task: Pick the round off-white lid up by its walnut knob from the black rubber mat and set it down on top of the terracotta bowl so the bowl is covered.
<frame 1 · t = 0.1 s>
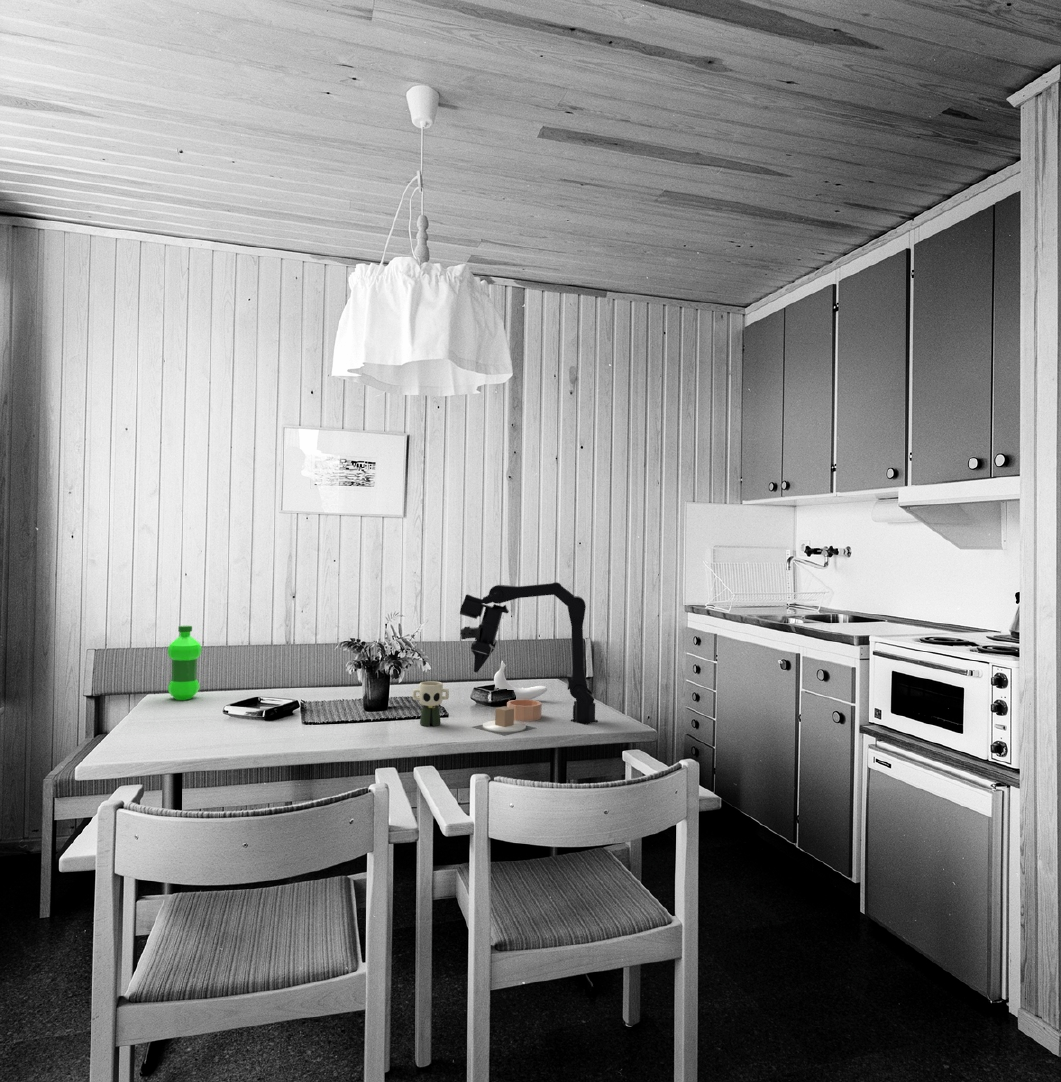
hand: (477, 669, 248), 15 cm above the table, tool pointing down, fingers open, 9 cm apart
plastic bottle: (183, 699, 268), on the table
mat: (504, 729, 235), on the table
character mug: (430, 726, 237), on the table
bowl: (524, 718, 250), on the table
banana: (520, 701, 277), on the table
lid: (504, 727, 235), resting on mat
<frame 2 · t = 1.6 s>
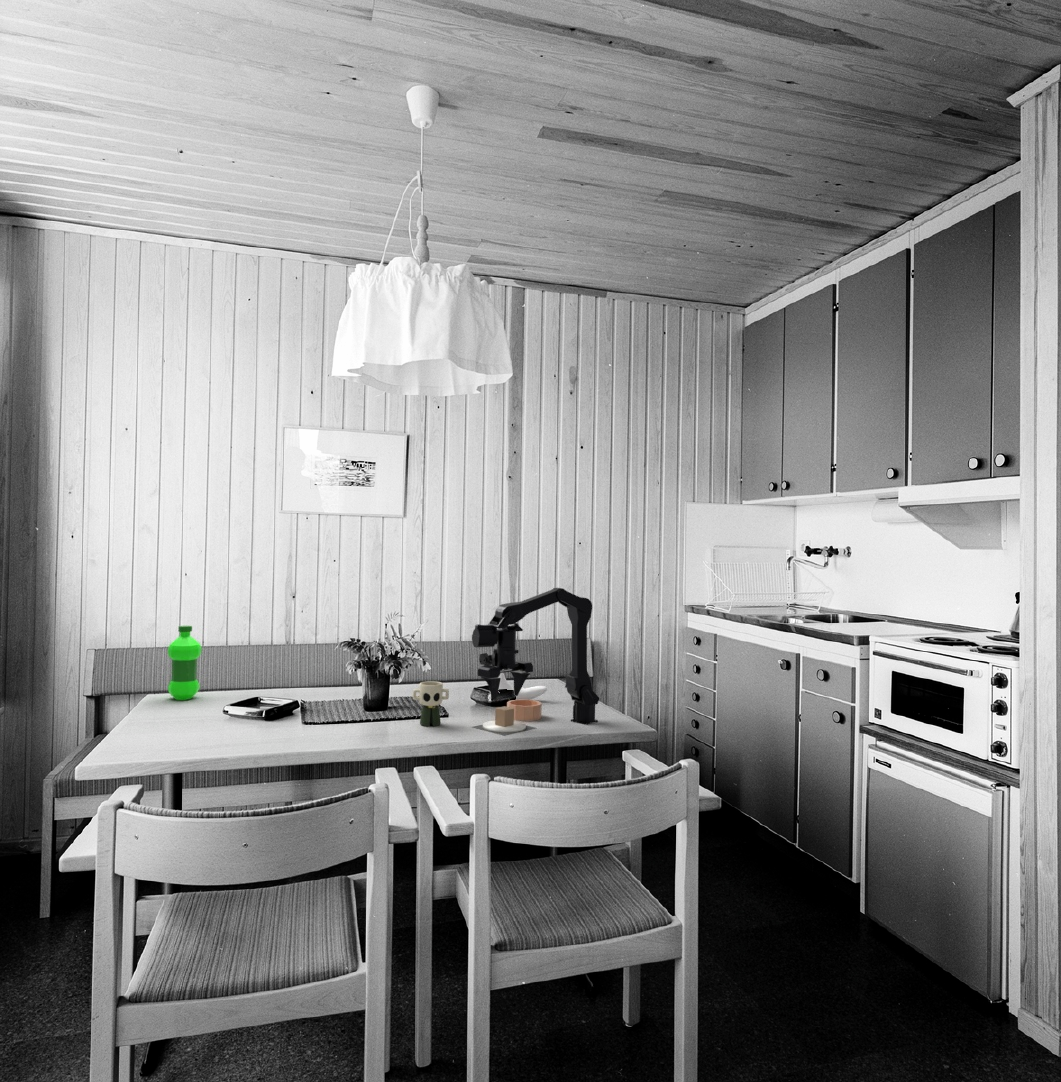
hand: (505, 697, 235), 9 cm above the table, tool pointing down, fingers open, 9 cm apart
nothing on the table moved.
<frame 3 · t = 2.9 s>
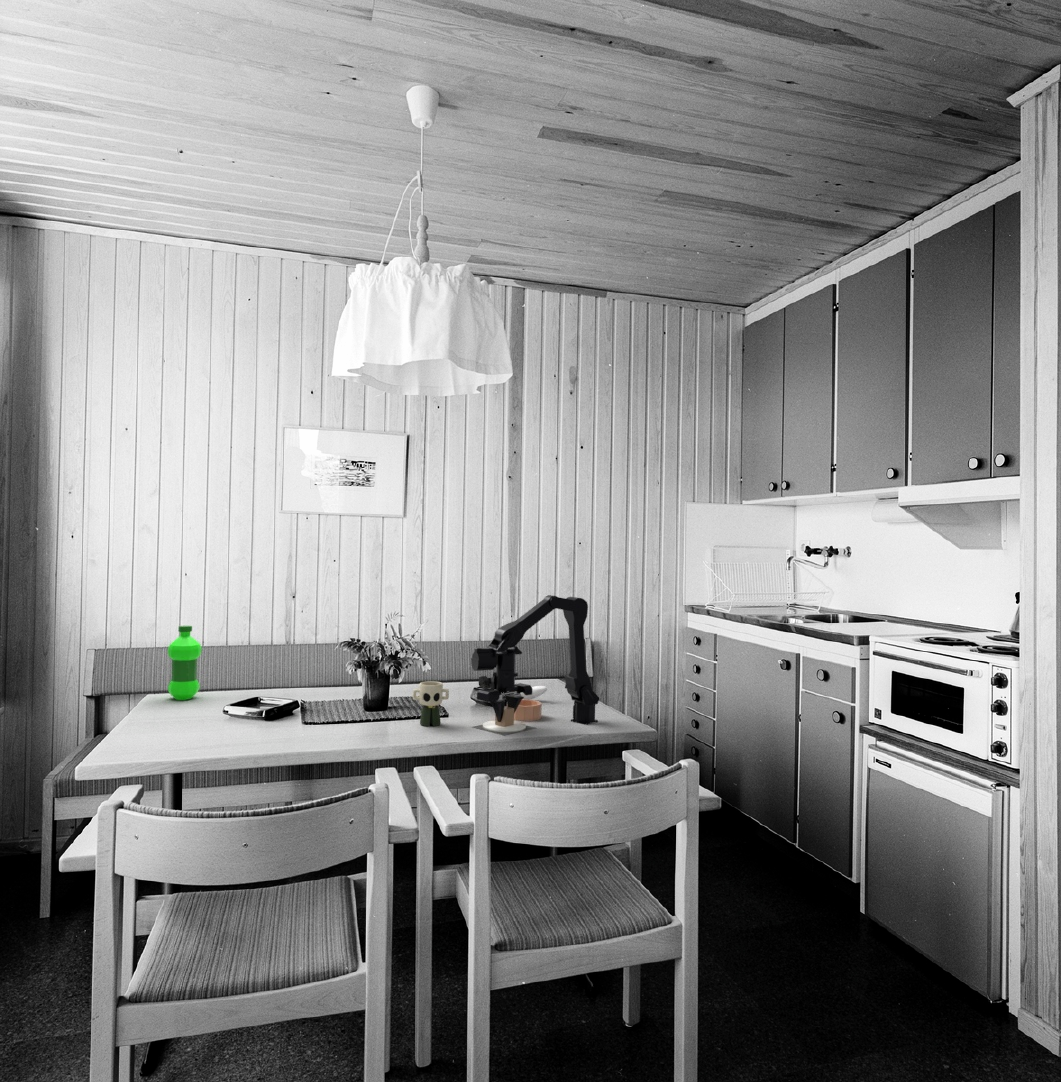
hand: (504, 720, 235), 3 cm above the table, tool pointing down, fingers closed on lid, 4 cm apart
lid: (504, 727, 235), point 1 cm above the table, touching gripper, mat
everything else where it was.
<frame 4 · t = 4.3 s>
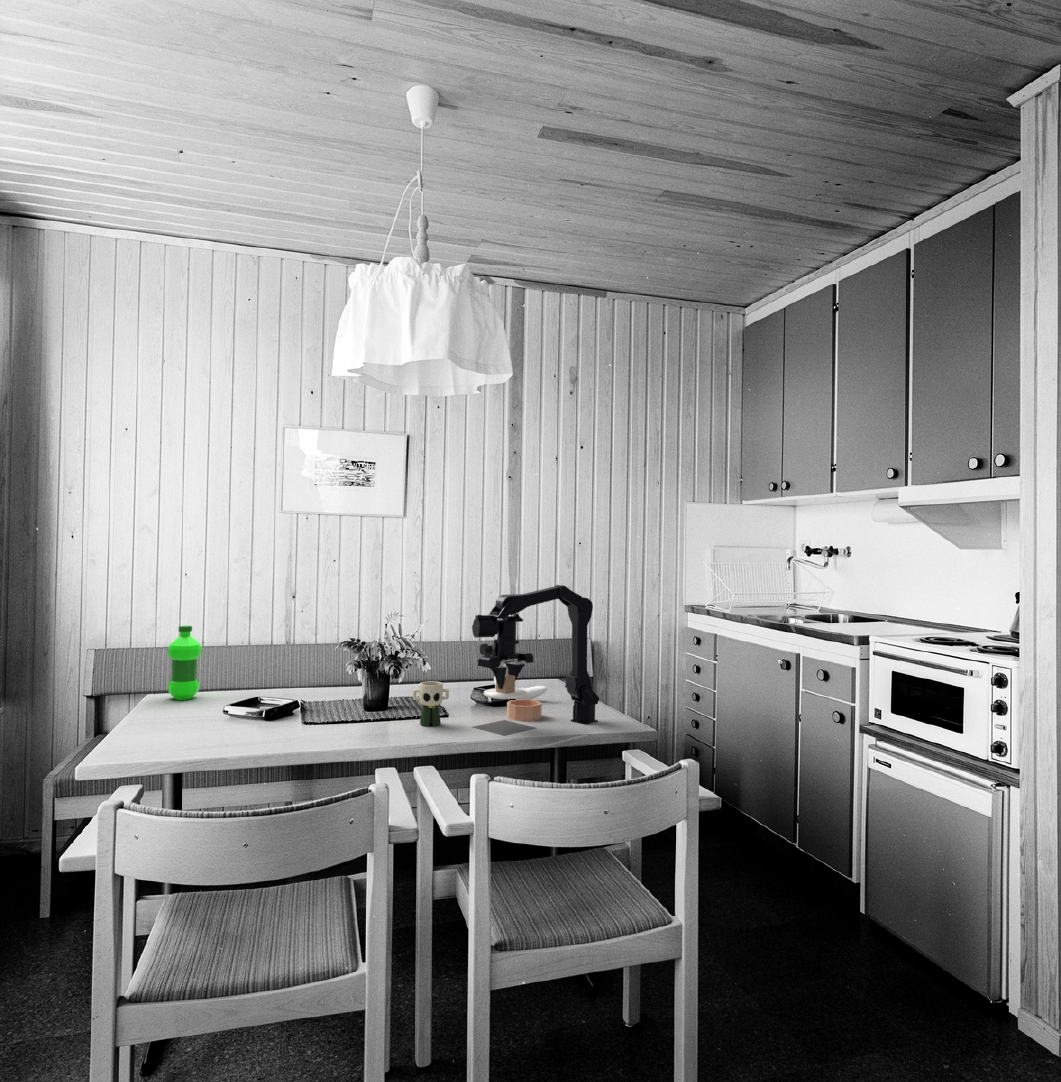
hand: (505, 688, 235), 12 cm above the table, tool pointing down, fingers closed on lid, 4 cm apart
lid: (505, 694, 235), point 10 cm above the table, touching gripper
everything else where it was.
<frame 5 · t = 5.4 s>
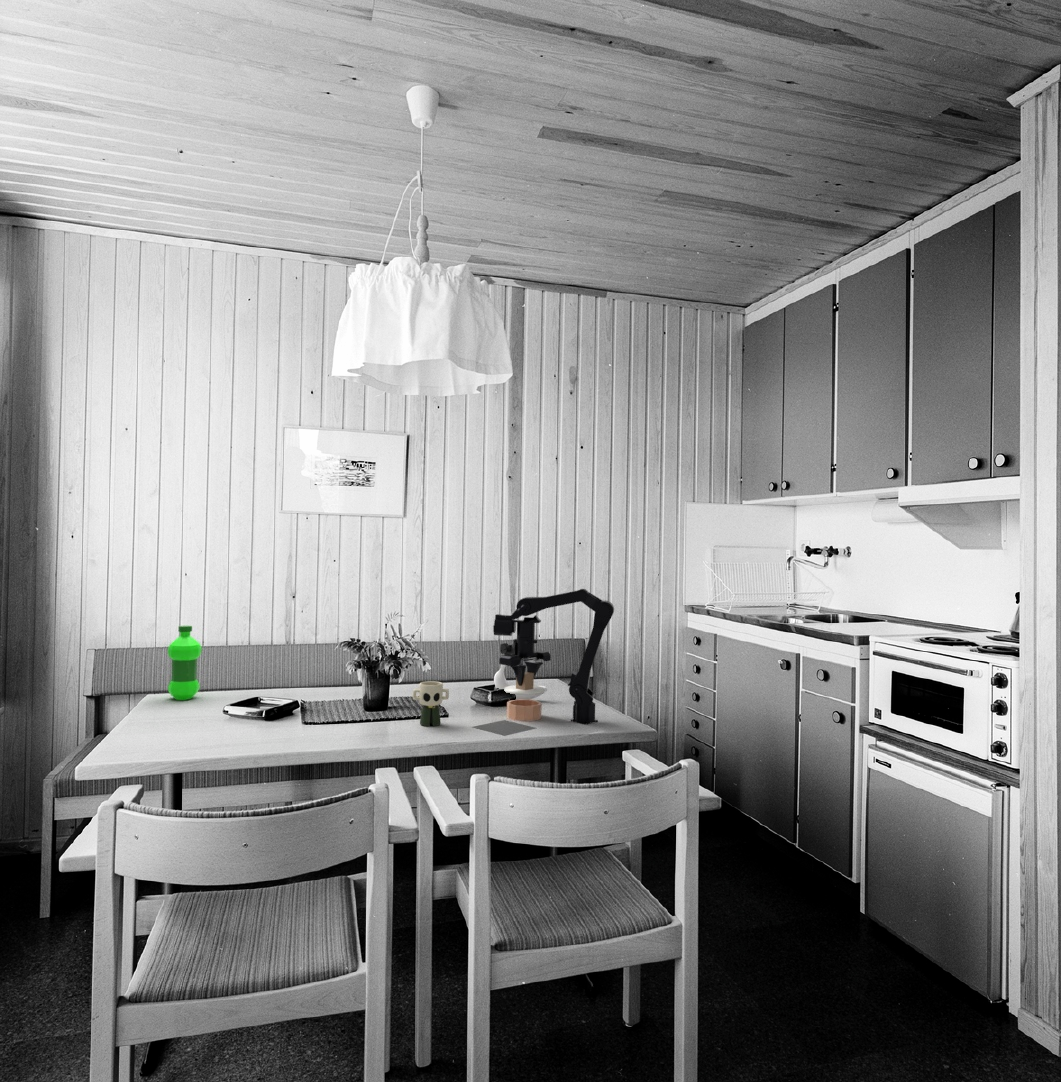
hand: (524, 684, 250), 11 cm above the table, tool pointing down, fingers closed on lid, 4 cm apart
lid: (524, 691, 250), point 9 cm above the table, touching gripper
everything else where it was.
when the fingers open (8 cm above the table, at t = 6.1 s): lid drops 1 cm, resting on bowl.
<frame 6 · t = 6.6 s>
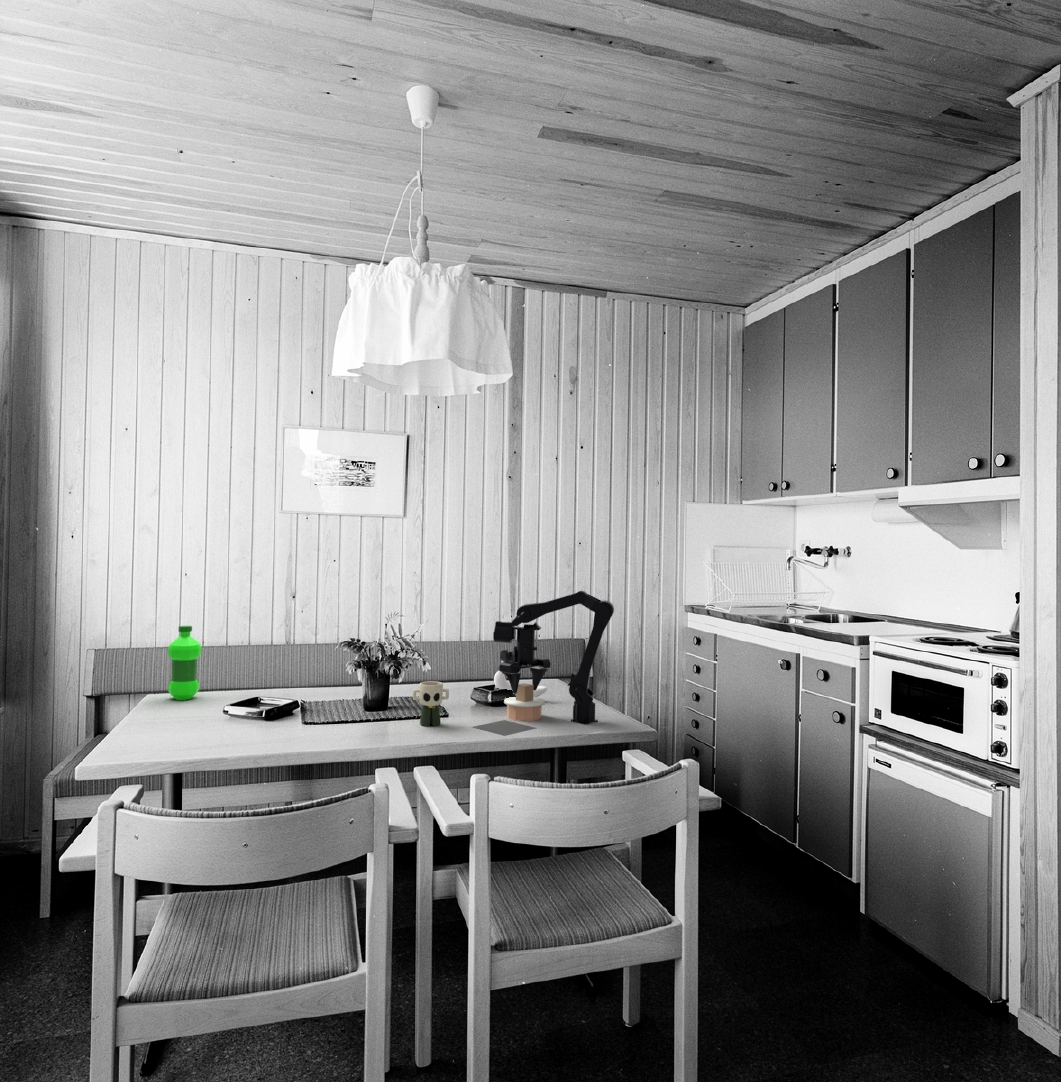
hand: (524, 692, 250), 8 cm above the table, tool pointing down, fingers open, 9 cm apart
lid: (524, 702, 250), point 5 cm above the table, touching bowl
everything else where it was.
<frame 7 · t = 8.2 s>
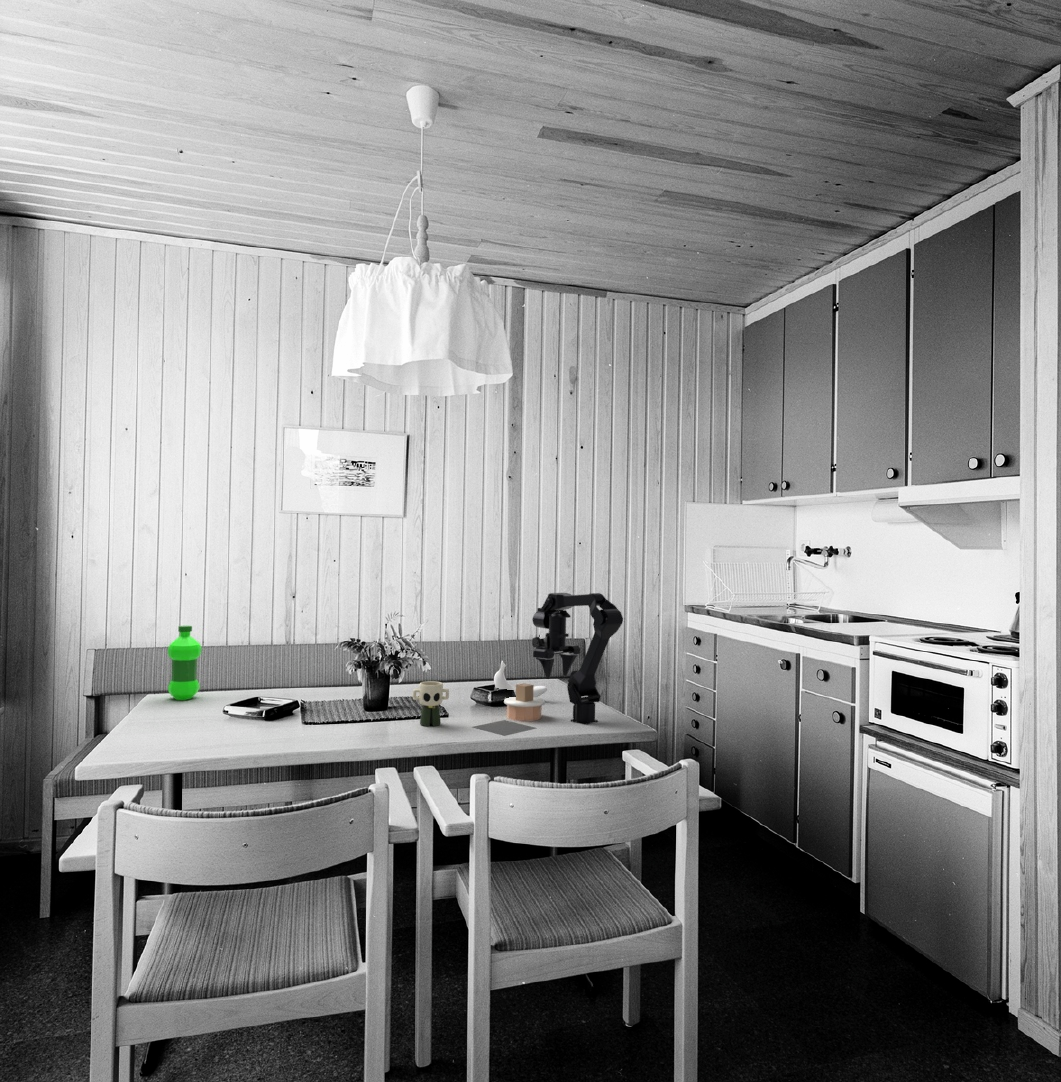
hand: (556, 677, 258), 12 cm above the table, tool pointing down, fingers open, 9 cm apart
nothing on the table moved.
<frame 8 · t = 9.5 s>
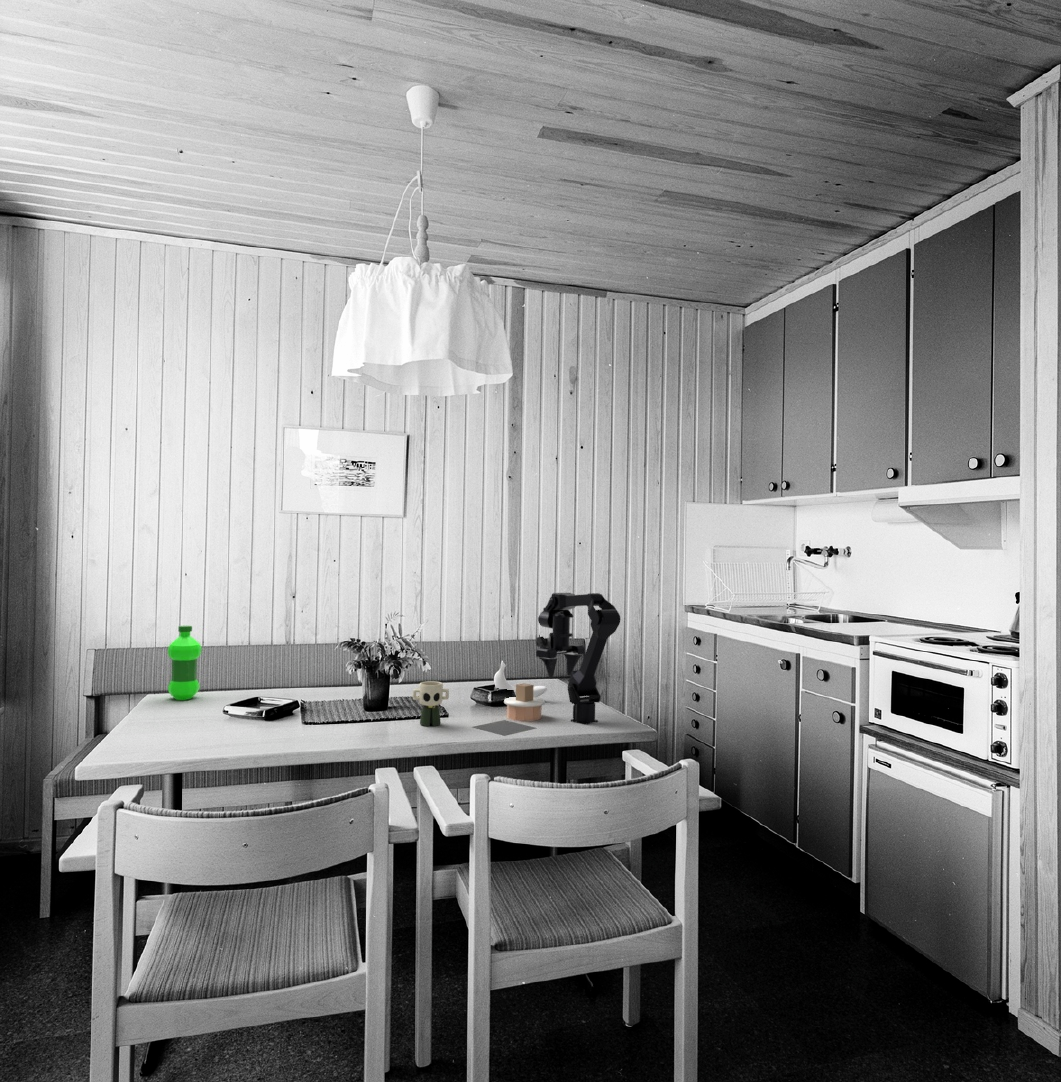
hand: (560, 676, 259), 12 cm above the table, tool pointing down, fingers open, 9 cm apart
nothing on the table moved.
at the end: lid 0.0 cm off-centre on the bowl, point 5.0 cm above the bowl's base; lid tilted 0°; the gripper is holding nothing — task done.
